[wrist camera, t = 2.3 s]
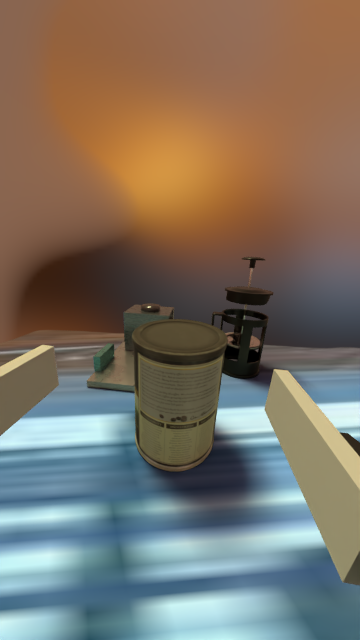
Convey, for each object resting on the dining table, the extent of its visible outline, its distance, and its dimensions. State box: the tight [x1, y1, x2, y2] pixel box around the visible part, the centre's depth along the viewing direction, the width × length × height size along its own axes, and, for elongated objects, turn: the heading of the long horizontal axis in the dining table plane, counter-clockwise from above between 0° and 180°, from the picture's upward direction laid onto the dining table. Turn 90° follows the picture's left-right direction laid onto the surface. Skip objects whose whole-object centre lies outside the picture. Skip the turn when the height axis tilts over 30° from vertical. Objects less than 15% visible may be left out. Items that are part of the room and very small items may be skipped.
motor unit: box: [87, 304, 174, 392], centre depth 41 cm, size 14×21×11 cm
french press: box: [211, 257, 273, 379], centre depth 39 cm, size 12×9×23 cm
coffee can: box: [132, 319, 228, 471], centre depth 23 cm, size 10×10×14 cm
